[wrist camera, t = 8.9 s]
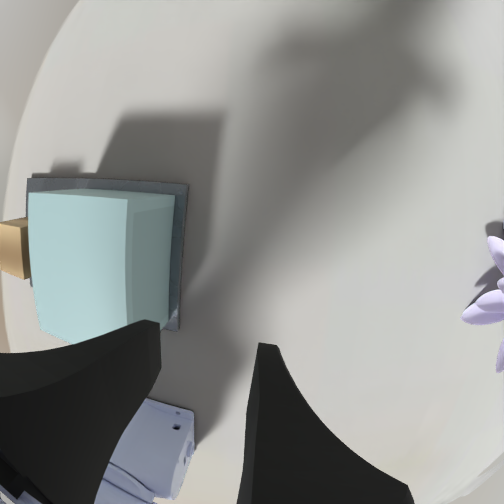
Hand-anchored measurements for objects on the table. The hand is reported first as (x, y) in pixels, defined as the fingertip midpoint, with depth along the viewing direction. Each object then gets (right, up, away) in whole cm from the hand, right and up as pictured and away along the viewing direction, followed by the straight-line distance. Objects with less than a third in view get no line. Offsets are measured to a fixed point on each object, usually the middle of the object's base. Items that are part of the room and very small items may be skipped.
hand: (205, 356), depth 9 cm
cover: (-8, +3, +10) cm, 14 cm away
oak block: (-17, +5, +11) cm, 21 cm away
